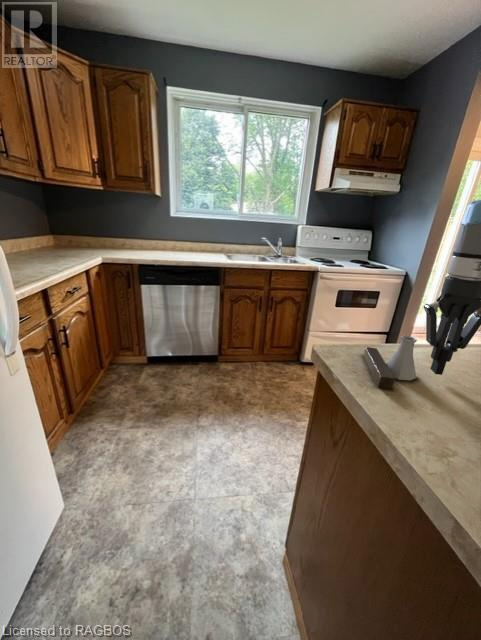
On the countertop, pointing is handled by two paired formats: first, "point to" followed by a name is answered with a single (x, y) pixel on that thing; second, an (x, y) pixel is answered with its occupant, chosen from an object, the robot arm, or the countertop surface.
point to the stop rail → (378, 368)
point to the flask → (403, 360)
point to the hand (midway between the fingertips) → (436, 371)
